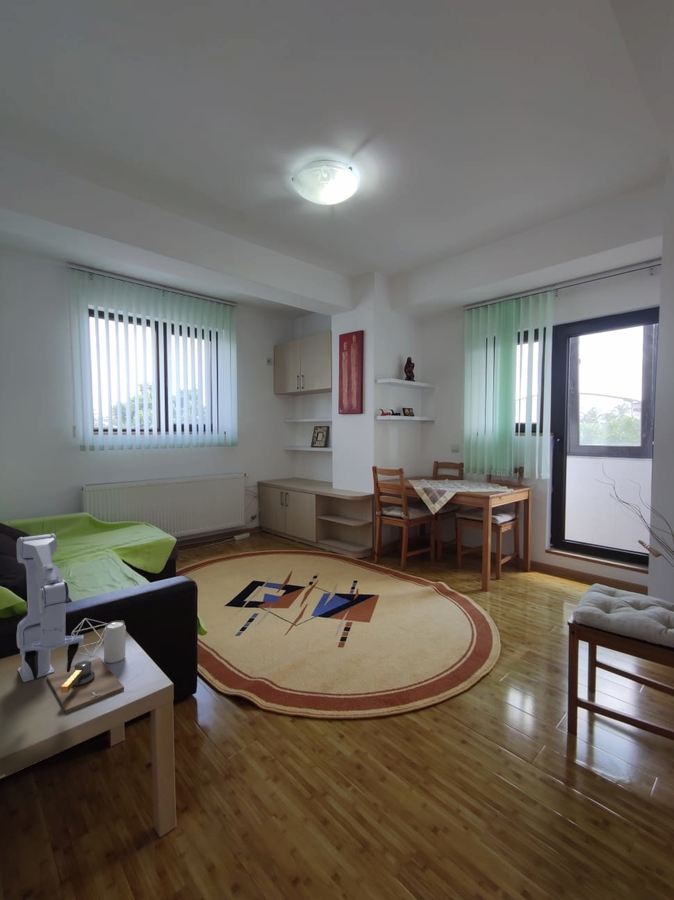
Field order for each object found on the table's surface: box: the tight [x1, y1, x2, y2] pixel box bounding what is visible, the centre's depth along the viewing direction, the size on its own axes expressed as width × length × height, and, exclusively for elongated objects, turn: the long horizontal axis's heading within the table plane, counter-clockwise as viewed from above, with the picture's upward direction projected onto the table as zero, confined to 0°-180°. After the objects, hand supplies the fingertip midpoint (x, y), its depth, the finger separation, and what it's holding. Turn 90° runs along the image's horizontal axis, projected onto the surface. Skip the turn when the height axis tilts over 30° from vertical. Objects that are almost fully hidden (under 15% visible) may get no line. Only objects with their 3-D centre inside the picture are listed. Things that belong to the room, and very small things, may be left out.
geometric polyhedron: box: [70, 617, 108, 657], centre depth 146 cm, size 12×11×9 cm
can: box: [103, 620, 127, 664], centre depth 140 cm, size 6×6×12 cm
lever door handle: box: [61, 660, 95, 693], centre depth 123 cm, size 13×7×4 cm, turn 7°
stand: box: [46, 657, 125, 714], centre depth 126 cm, size 22×15×1 cm
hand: (52, 673), depth 115 cm, fingers open, 7 cm apart
